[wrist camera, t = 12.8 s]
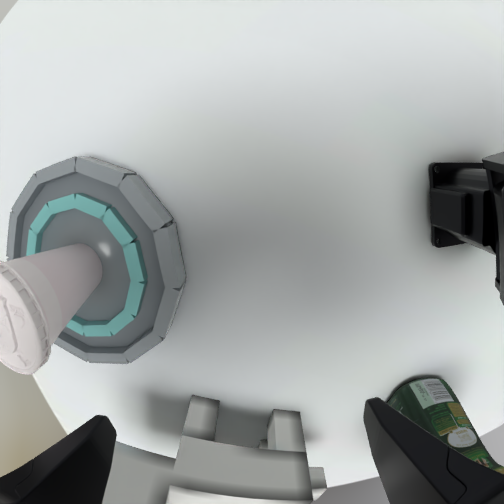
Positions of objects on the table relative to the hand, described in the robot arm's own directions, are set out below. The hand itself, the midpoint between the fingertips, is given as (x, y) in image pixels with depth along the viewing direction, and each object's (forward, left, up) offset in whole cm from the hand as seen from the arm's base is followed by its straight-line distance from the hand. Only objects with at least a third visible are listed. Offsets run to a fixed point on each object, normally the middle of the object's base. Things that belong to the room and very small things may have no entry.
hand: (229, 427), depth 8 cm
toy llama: (+4, +15, -13) cm, 20 cm away
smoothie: (+12, -3, -12) cm, 17 cm away
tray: (+12, -3, -13) cm, 18 cm away
